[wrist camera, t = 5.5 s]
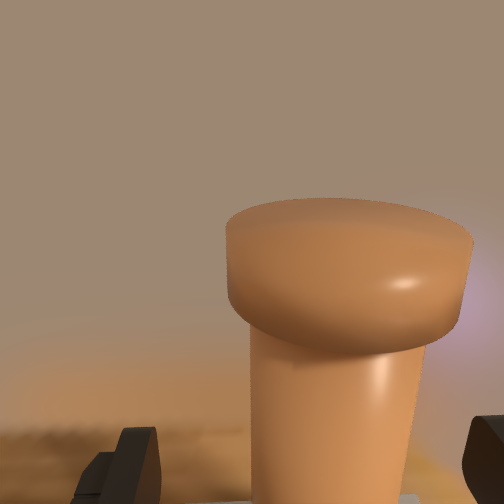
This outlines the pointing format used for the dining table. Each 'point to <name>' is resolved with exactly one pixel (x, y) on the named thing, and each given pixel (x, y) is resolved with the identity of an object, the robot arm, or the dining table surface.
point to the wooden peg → (339, 338)
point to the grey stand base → (405, 502)
